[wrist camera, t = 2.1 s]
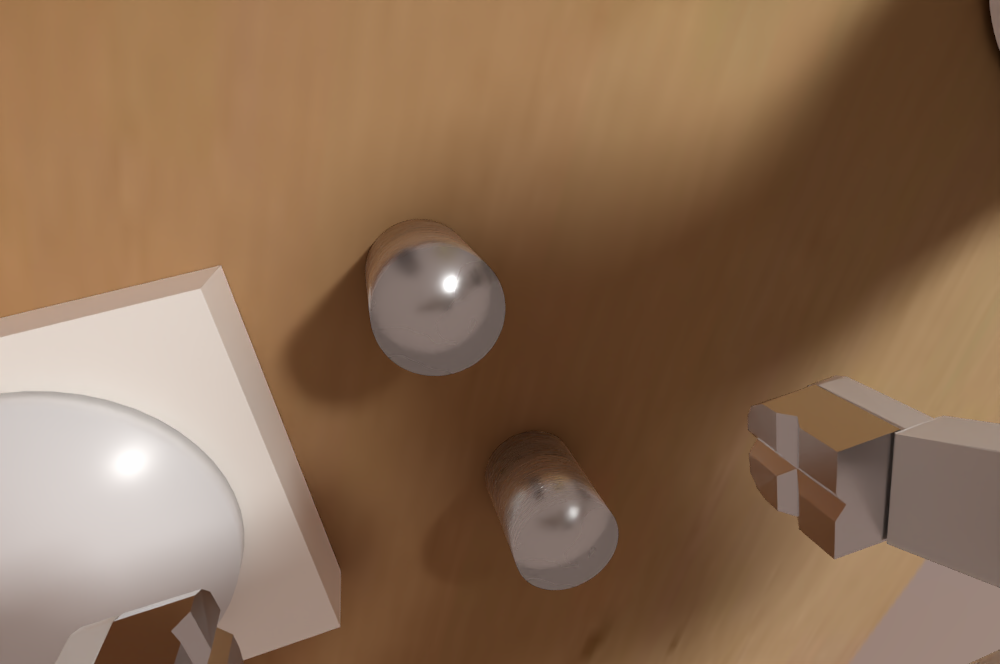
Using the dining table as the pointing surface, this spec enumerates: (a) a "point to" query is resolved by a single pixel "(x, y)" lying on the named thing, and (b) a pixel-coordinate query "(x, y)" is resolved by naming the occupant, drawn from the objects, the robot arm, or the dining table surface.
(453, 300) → the cylinder
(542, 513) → the cylinder
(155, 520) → the scale
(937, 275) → the dining table surface
